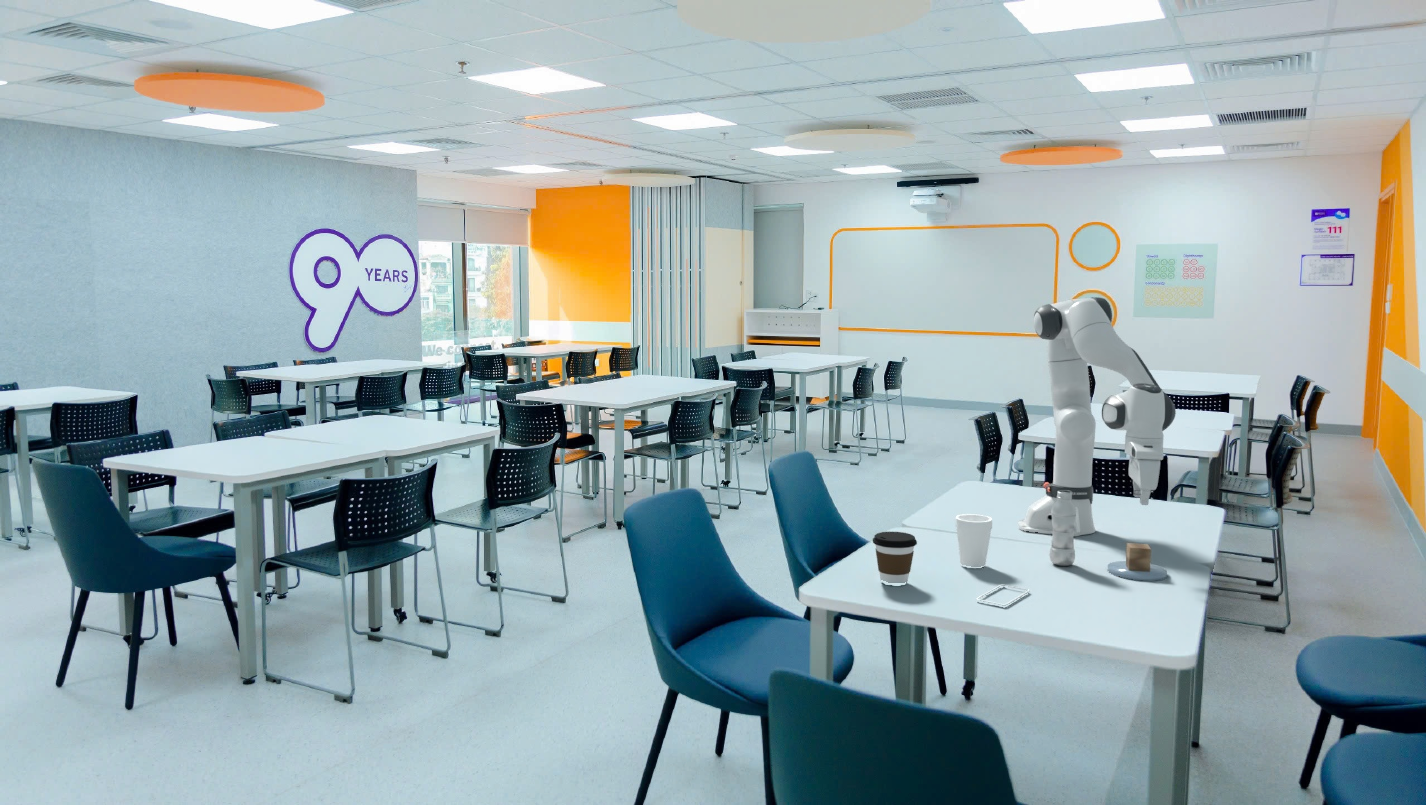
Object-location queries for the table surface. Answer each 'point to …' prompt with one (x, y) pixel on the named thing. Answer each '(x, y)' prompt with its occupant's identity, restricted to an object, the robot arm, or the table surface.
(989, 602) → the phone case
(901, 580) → the coffee cup
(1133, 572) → the dish
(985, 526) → the foam cup
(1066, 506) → the plastic bottle
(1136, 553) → the walnut block
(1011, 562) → the table surface
